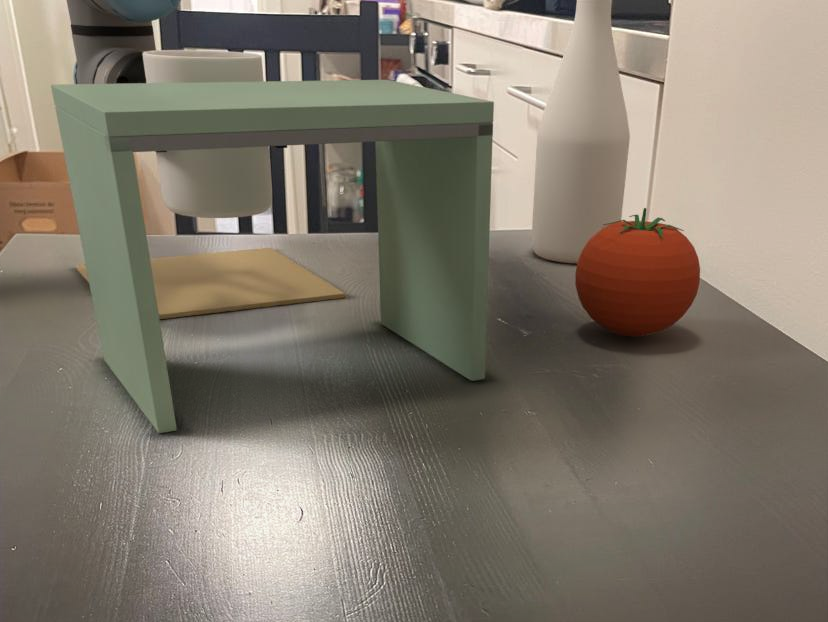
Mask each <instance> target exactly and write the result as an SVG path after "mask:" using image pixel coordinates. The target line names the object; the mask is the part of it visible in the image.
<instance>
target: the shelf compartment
mask: <svg viewBox="0 0 828 622" xmlns="http://www.w3.org/2000/svg"><path fill="white" fill-rule="evenodd" d="M50 88H51V93H52V99H53V103H54V106H55V107H54V109H55V114H56V118H57V123H58V129H59V135H60V140H61V144H62V150H63V154H64V161H65V166H66V170H67V171H66V172H67V176H68V179H69V180H68V182H69V186H70V191H71V196H72V203H73V207H74V212H75V217H76V222H77V227H78V233H79V237H80V243H81V249H82V254H83V259H84V263H85V264H86V269H87V274H88V279H89V282H88V285H89V288H90V294H91V299H92V304H93V310H94V316H95V321H96V326H97V330H98V336H99V341H100V347H101V350H102V351H101V352H102V356H103V361H104V362H105V363H106V364H107V366H108V367H109V369H110V370H111V372H112V373H113V374H114V375H115V377H116V378H117V379H118V381H119V382H120V383H121V385H122V386H123V388H124V389H125V390H126V391H127V393H128V394H129V395H130V397H131V399H133V401H134V402H135V404H136V405H137V406H138V408H139V409H140V411H142V413H143V414H144V416H145V417H146V419H147V420H148V421H149V423H150V424H151V425H152V427H153V428H154V429H155V430H156V431H157V433H158V434H164V433H170V432H176V431H177V430H178V428H177V422H176V421H177V420H176V416H175V410H174V409H175V408H174V402H173V396H172V391H171V390H172V388H171V383H170V376H169V371H168V364H167V357H166V351H165V345H164V339H163V333H162V327H161V325H162V324H161V321H160V320H161V319H159V313H158V306H157V300H156V294H155V287H154V281H153V274H152V268H151V262H150V259H151V256H150V250H149V243H148V237H147V230H146V224H145V218H144V211H143V205H142V198H141V192H140V187H139V179H138V173H137V167H136V161H135V155H134V153H147V152H155V151H173V150H196V149H218V148H241V147H264V146H269V147H274V146H286V145H287V146H303V145H305V146H306V145H307V146H308V145H327V144H329V145H330V144H331V145H333V144H350V143H351V144H352V143H353V144H355V143H374V142H375V143H374V144H375V173H376V174H375V175H376V177H375V178H376V207H377V209H376V210H377V241H378V243H377V244H378V271H379V272H378V273H379V274H378V275H379V277H378V278H379V306H380V307H379V308H380V309H379V311H380V325H382V326H383V327H386V328H387V329H388V330H390V331H392V332H393V333H395V334H396V335H397V336H399V337H401V338H403V339H404V340H406V341H407V342H409V343H410V344H412V345H414V346H415V347H417V348H419V349H420V350H422V351H423V352H425V354H426V353H427V354H428V355H429V356H431V357H432V358H434V359H436V360H437V361H439V362H441V363H442V364H444V365H445V366H447V367H448V368H450V369H452V370H453V371H455V372H456V373H458V374H460V375H461V376H463V377H464V378H466V379H468V380H469V381H471V382H474V381H481V380H485V379H486V362H487V361H486V360H487V359H486V357H487V355H486V354H487V325H488V298H489V297H488V295H489V293H488V292H489V264H490V261H489V260H490V231H491V201H492V200H491V199H492V170H493V169H492V165H493V140H494V139H493V137H494V110H495V109H494V108H495V102H494V100H493V101H492V100H487V99H482V98H477V97H474V96H473V97H472V96H468V95H464V94H459V93H453V92H449V91H444V90H440V89H434V88H430V87H424V86H421V85H420V86H419V85H414V84H410V83H405V82H400V81H395V80H391V79H343V80H341V79H340V80H335V79H334V80H333V79H332V80H274V81H272V80H271V81H266V80H264V82H196V83H127V84H74V83H71V84H70V83H68V84H66V83H64V84H50Z"/></svg>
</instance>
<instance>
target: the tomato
mask: <svg viewBox="0 0 828 622" xmlns="http://www.w3.org/2000/svg"><path fill="white" fill-rule="evenodd" d="M632 217H634V220H626V219H621V220H620V221H616V222H612V223H608V224H610V225H608V226H606V227H604V228H603V229H601V230H600V231H599V232H597V233H596V234H595V235H594V236H593V237H592V238H590V239H589V241H588V242H587V244H586V245H585V247H584V248H583V250H582V252H581V255H580V257H579V260H578V262H577V263H576V267H575V273H574V278H575V279H574V283H575V289H576V293H577V297H578V300H579V302H580V304H581V306H582V309H583V310H584V311H585V312H586V313H587V315H588V316H589V318H590V319H591V320H592V321H594V322H595V323H596V324H598V325H599V326H600V327H602V328H603V329H605V330H606V331H609V332H611V333H614V334H617V335H619V336H626V337H645V336H649V335H652V334H656V333H660V332H663V331H664V330H666V329H668V328H670V327H672V326H673V325H675V324H676V323H677V322H678V321H679V320H681V319H682V318H683V317H684V315H685V314H686V313H687V311H689V309H690V308H691V307H692V306H693V304H694V301H695V299H696V297H697V294H698V291H699V287H700V281H701V265H700V259H699V256H698V254H697V250H696V249H695V246H694V245H693V244H692V242H691V241H690V240H689V239H688V237H687V236H686V235H685V234H683V233H682V232H684V231H685V230H684V229H681V228H679V227H676V226H674V225H671V224H667V223H666V224H665V223H661V221H663V222H666V220H665V219H664V218H662V217H656V218H655V219H654V220H652V221H646V217H647V207H644V208H643V209H642V215H641V220H640V215H639V214H632V215H629V218H632ZM604 225H607V224H604ZM681 231H682V232H681Z"/></svg>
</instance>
